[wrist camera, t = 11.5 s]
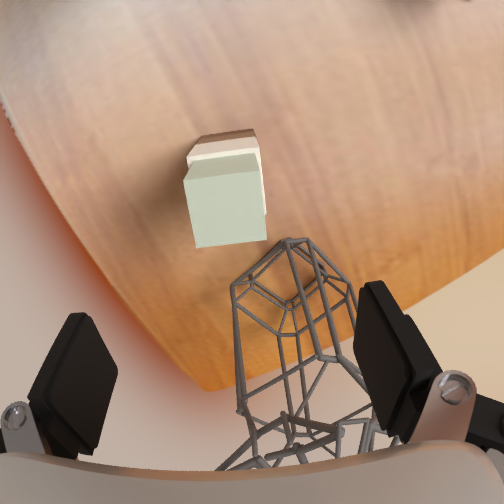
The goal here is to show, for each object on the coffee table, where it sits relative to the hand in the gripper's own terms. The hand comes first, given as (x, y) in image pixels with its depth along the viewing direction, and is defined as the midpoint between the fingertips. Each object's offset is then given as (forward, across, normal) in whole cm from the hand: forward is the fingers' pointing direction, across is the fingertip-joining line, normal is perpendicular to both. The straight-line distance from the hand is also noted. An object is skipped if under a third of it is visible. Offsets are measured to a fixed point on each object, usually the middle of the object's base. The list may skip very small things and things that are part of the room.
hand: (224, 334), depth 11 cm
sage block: (+18, 0, +1) cm, 18 cm away
